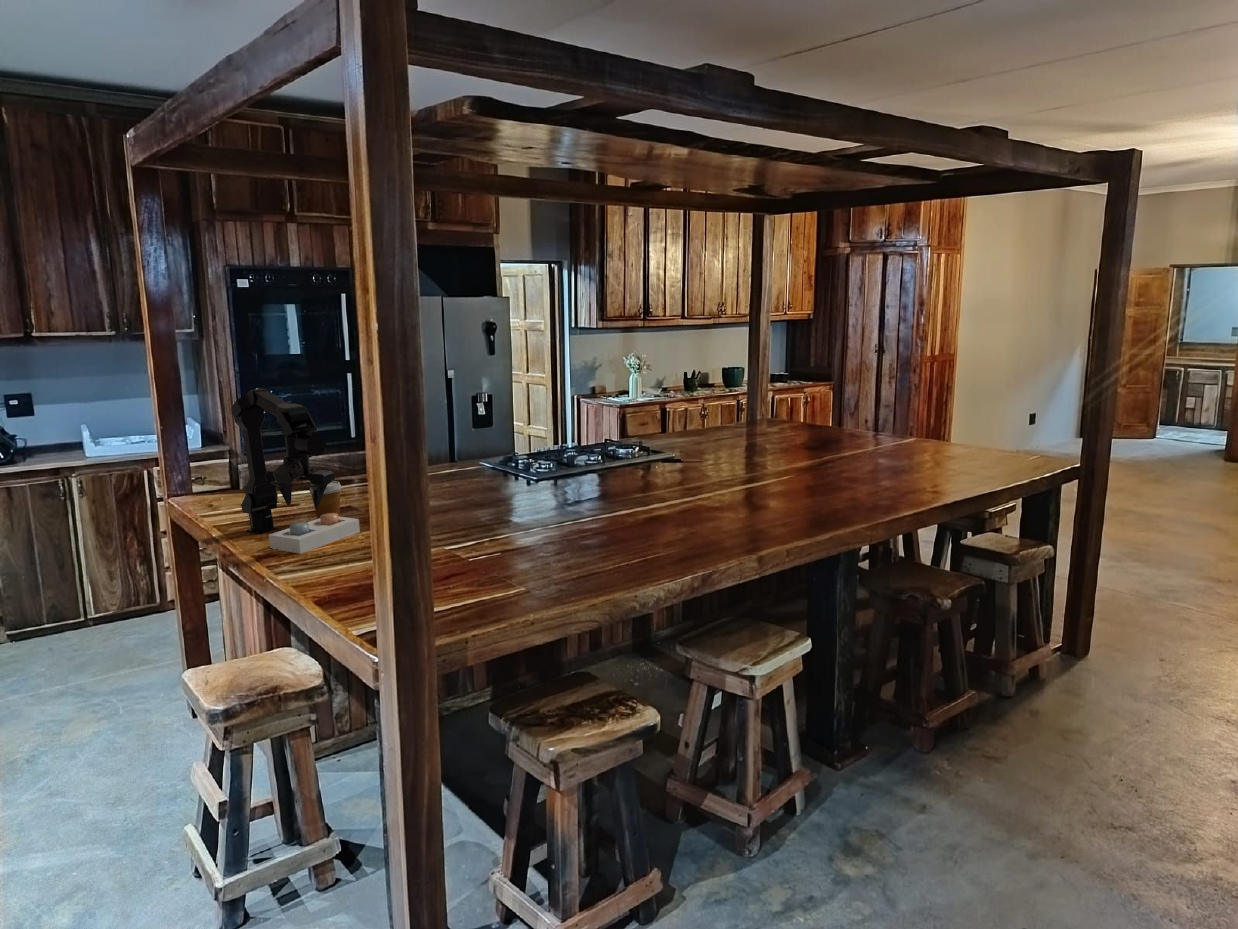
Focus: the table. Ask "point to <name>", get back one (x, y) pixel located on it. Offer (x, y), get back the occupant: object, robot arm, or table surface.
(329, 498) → the disposable coffee cup
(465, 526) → the table surface
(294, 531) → the slate-grey button
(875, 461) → the table surface
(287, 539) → the button panel
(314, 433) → the robot arm
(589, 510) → the table surface
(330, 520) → the terracotta button
